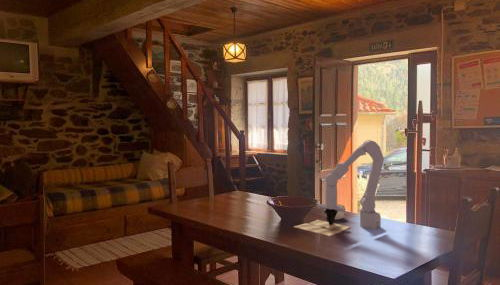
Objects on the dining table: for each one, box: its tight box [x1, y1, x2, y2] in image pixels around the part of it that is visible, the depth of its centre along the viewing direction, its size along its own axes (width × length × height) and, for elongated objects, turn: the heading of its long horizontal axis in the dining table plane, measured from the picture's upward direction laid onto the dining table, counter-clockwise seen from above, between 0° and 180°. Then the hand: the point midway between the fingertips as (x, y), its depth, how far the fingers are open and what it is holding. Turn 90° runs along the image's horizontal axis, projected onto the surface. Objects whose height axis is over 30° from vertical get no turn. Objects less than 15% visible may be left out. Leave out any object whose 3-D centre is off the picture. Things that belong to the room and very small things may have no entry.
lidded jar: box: [324, 203, 346, 220], centre depth 214 cm, size 11×11×9 cm
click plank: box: [307, 219, 351, 232], centre depth 198 cm, size 20×8×1 cm, turn 42°
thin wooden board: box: [293, 222, 342, 237], centre depth 191 cm, size 22×10×1 cm, turn 42°
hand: (331, 224), depth 199 cm, fingers closed, pressing on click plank
